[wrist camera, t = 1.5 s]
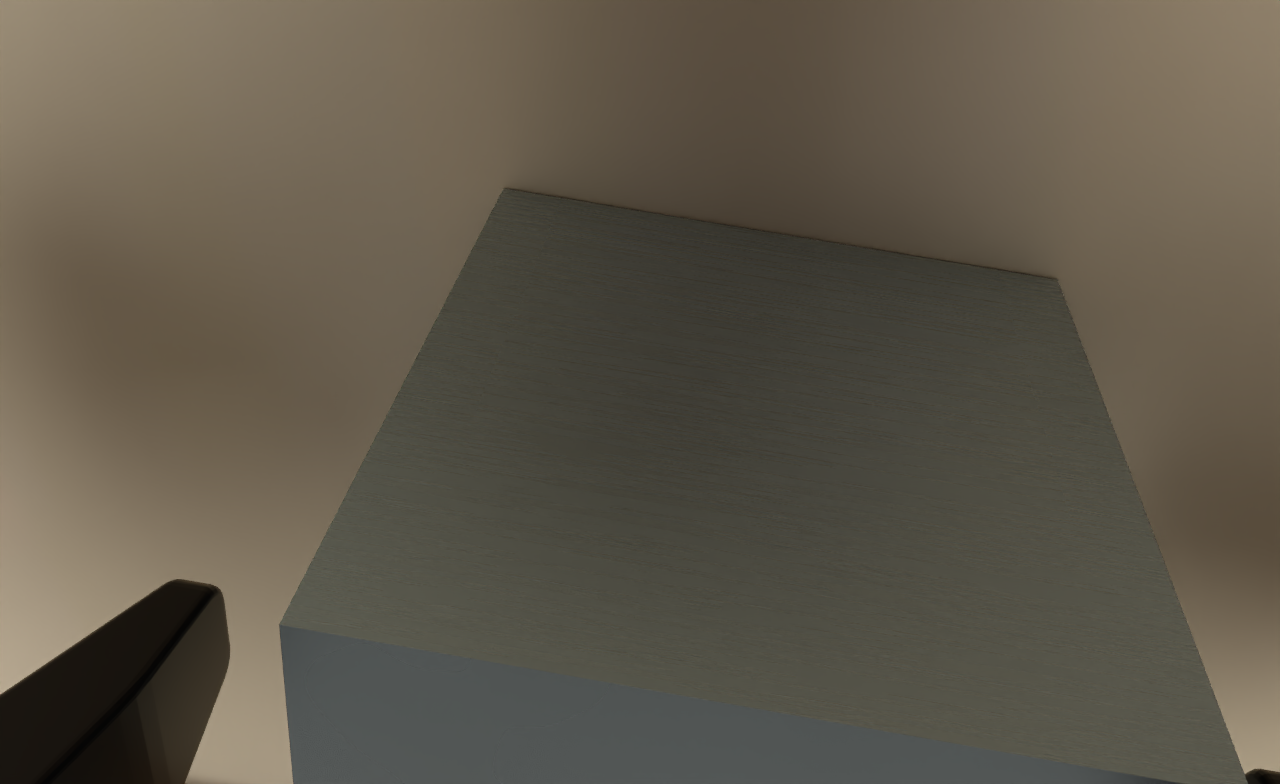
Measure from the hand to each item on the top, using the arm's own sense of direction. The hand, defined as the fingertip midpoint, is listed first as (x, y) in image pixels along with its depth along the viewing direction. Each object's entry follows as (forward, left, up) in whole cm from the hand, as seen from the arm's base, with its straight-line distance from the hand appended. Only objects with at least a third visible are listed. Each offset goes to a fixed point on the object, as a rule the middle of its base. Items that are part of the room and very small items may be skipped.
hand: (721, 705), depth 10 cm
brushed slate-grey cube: (0, 0, -4) cm, 4 cm away
